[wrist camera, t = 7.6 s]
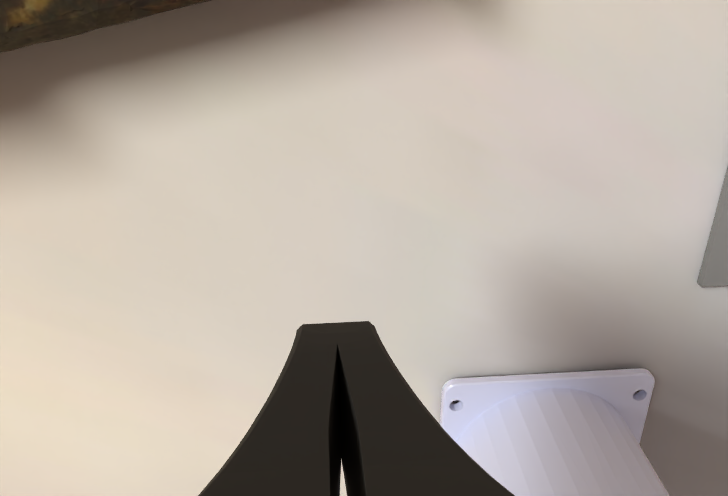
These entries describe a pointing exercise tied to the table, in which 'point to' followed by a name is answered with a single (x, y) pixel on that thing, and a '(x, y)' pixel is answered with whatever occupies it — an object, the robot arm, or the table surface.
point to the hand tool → (70, 17)
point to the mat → (717, 246)
